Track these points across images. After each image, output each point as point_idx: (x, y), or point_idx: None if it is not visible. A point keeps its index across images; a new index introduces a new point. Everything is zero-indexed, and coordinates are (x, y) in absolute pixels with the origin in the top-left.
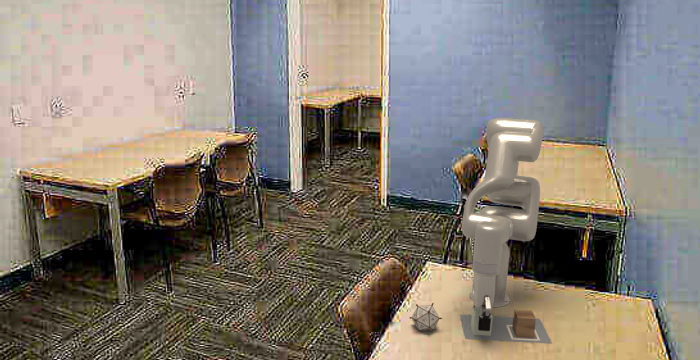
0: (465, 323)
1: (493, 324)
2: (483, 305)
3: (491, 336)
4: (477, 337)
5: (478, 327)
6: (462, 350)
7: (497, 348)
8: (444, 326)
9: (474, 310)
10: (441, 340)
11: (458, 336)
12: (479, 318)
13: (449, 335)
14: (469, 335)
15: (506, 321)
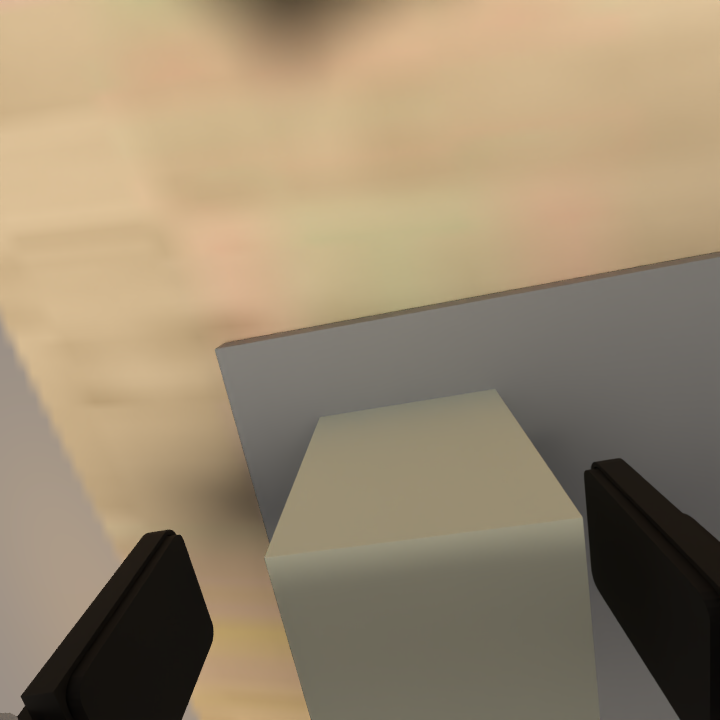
0: (537, 332)
1: None
2: (675, 696)
3: None
4: (282, 456)
5: (133, 552)
6: (69, 328)
7: (217, 588)
8: (465, 96)
9: (463, 553)
10: (157, 103)
11: (297, 274)
12: (37, 677)
13: (286, 179)
14: (296, 384)
15: (649, 687)
